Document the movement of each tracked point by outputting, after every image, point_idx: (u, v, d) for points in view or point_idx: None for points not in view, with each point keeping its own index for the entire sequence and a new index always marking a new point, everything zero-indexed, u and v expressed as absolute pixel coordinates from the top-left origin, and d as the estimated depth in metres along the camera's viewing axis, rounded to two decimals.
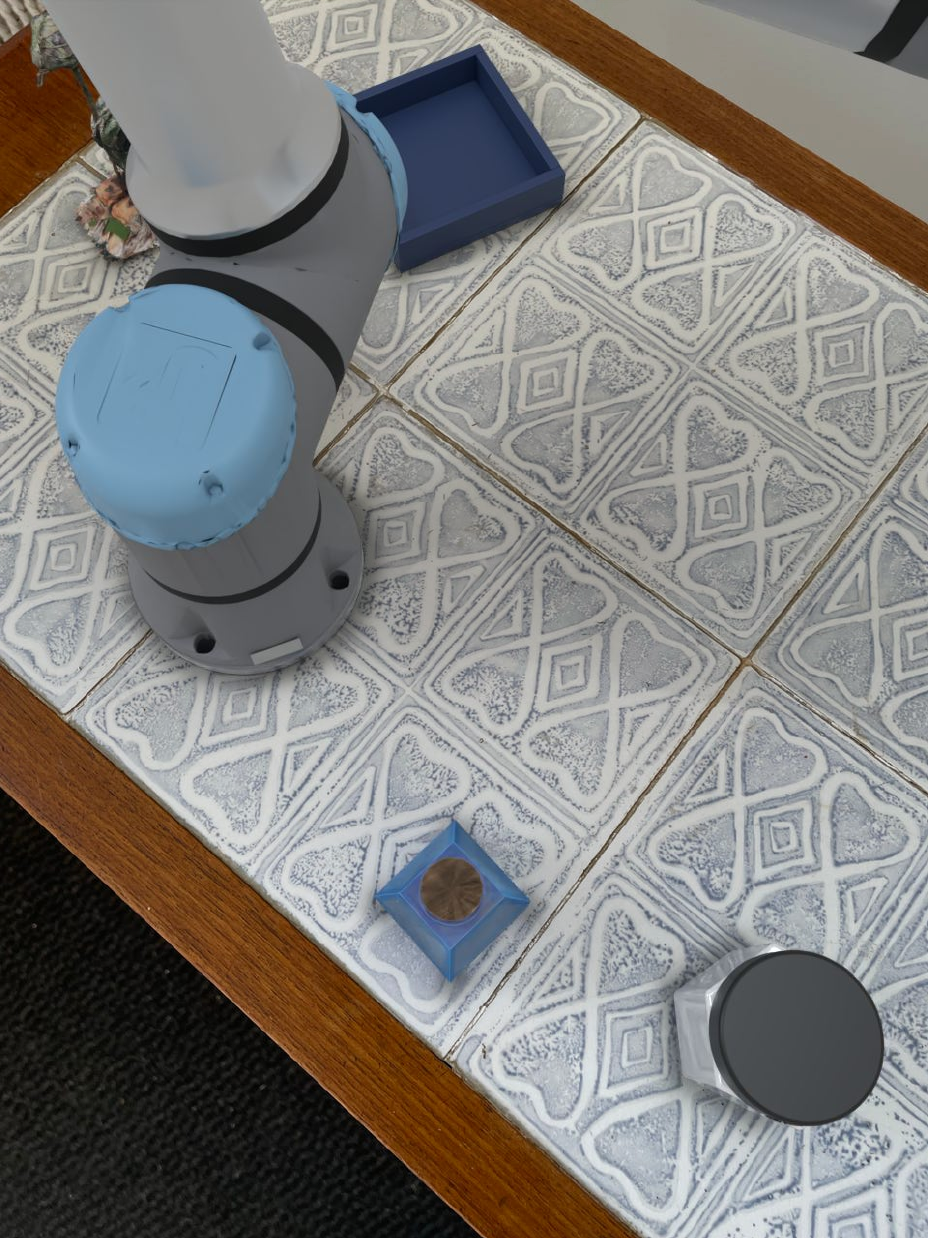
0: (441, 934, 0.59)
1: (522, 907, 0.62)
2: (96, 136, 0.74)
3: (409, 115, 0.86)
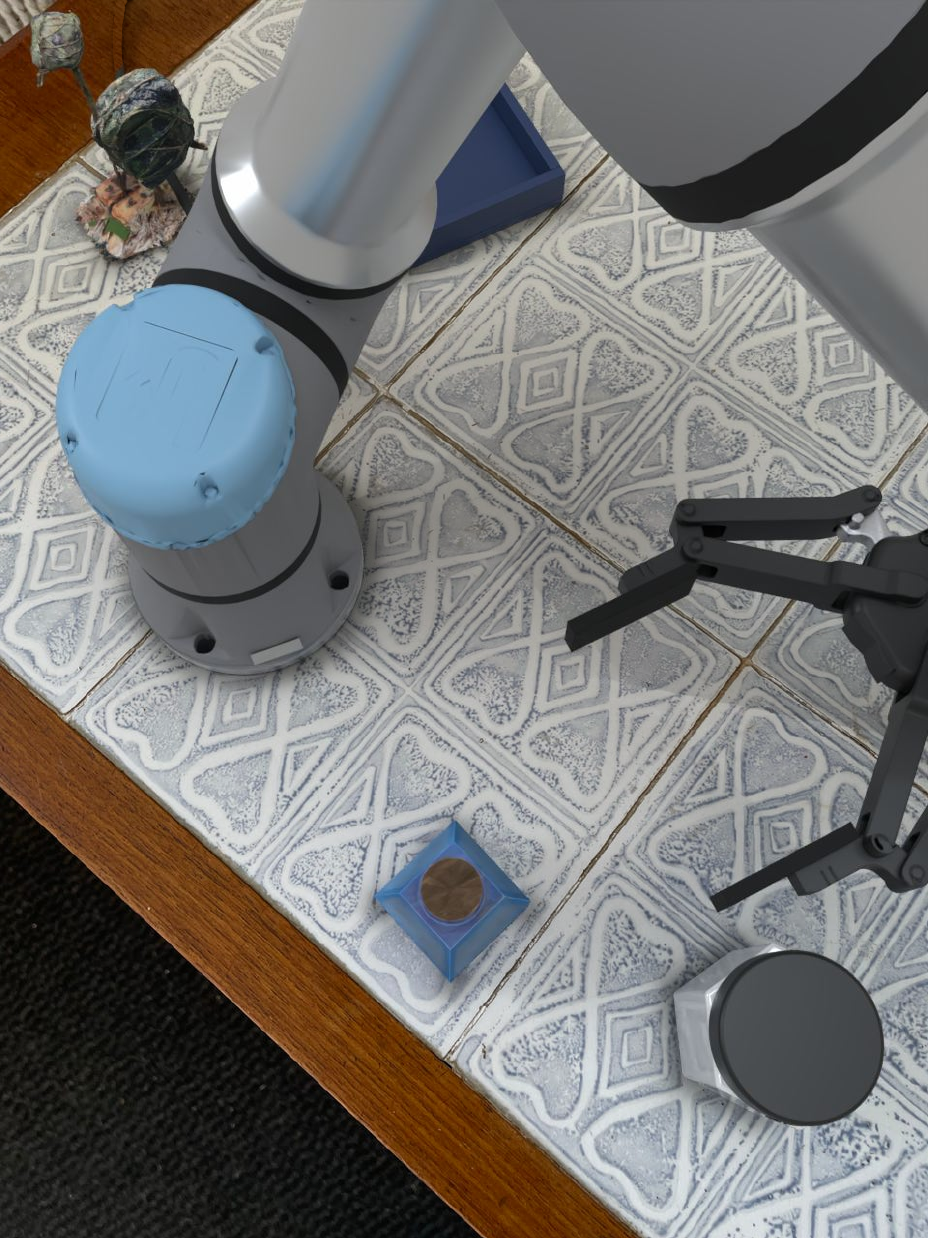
0: (441, 934, 0.59)
1: (522, 907, 0.62)
2: (96, 136, 0.74)
3: None
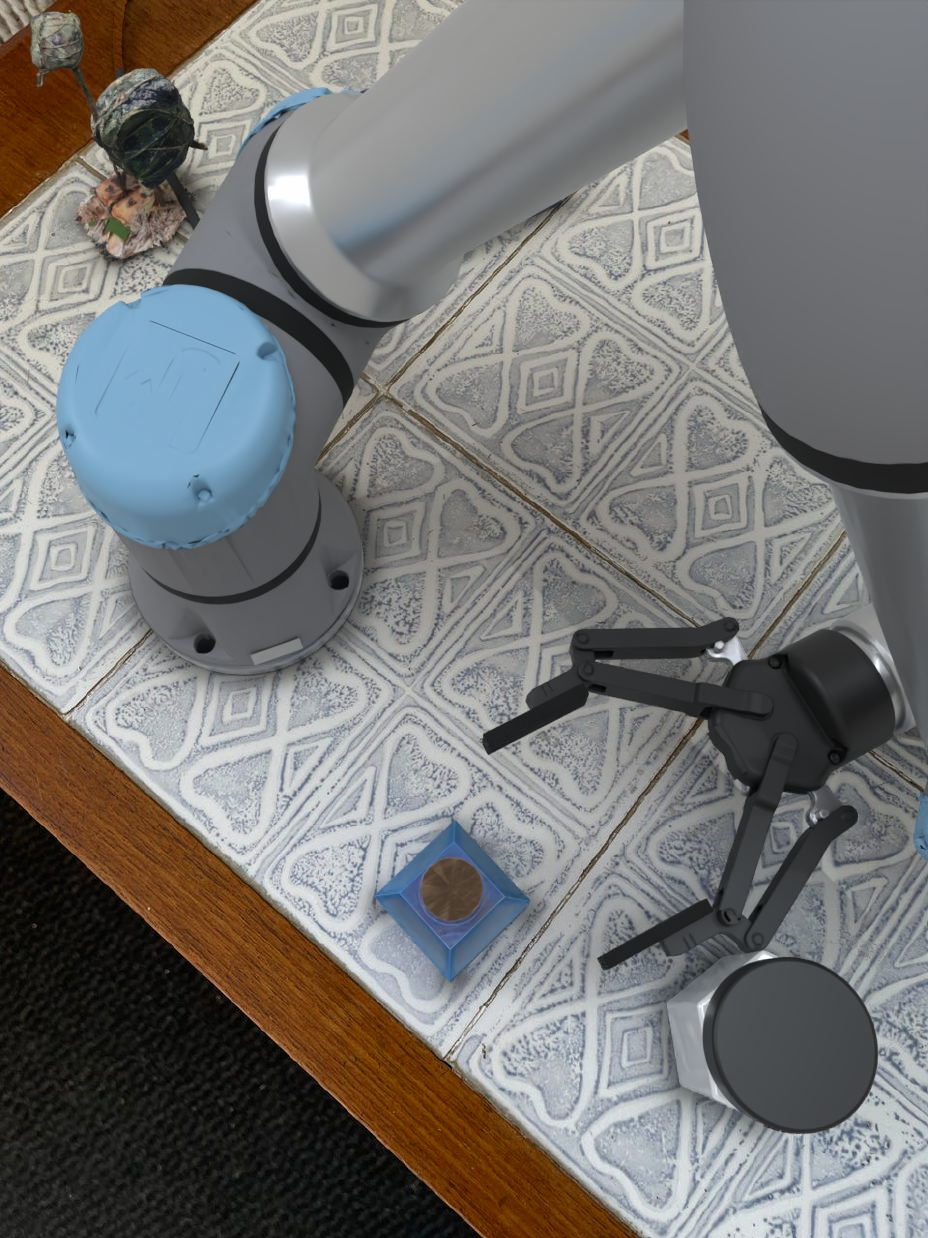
0: (441, 934, 0.59)
1: (522, 907, 0.62)
2: (96, 136, 0.74)
3: None
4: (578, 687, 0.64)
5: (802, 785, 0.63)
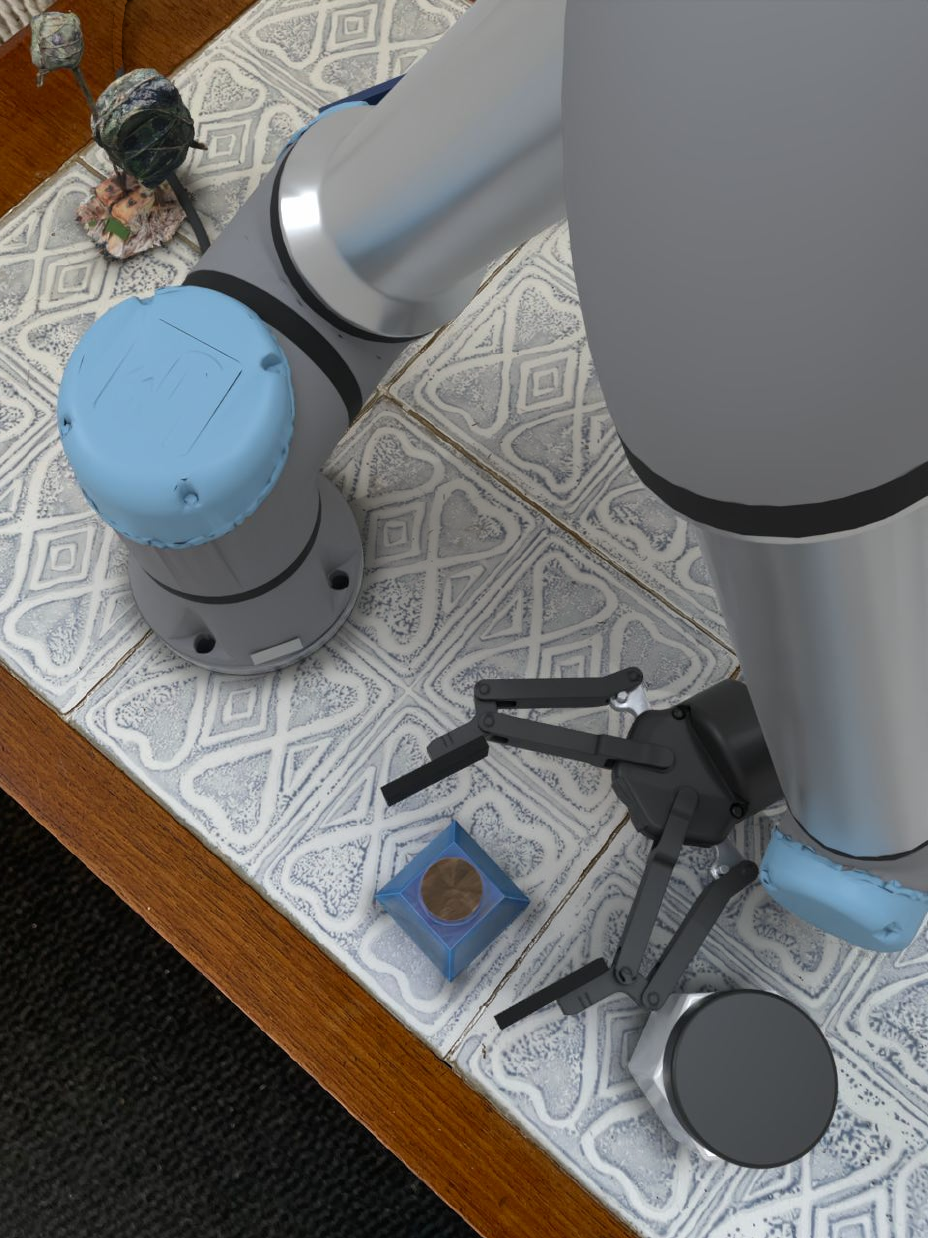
0: (441, 934, 0.59)
1: (522, 907, 0.62)
2: (96, 136, 0.74)
3: None
4: (478, 739, 0.63)
5: (703, 839, 0.62)
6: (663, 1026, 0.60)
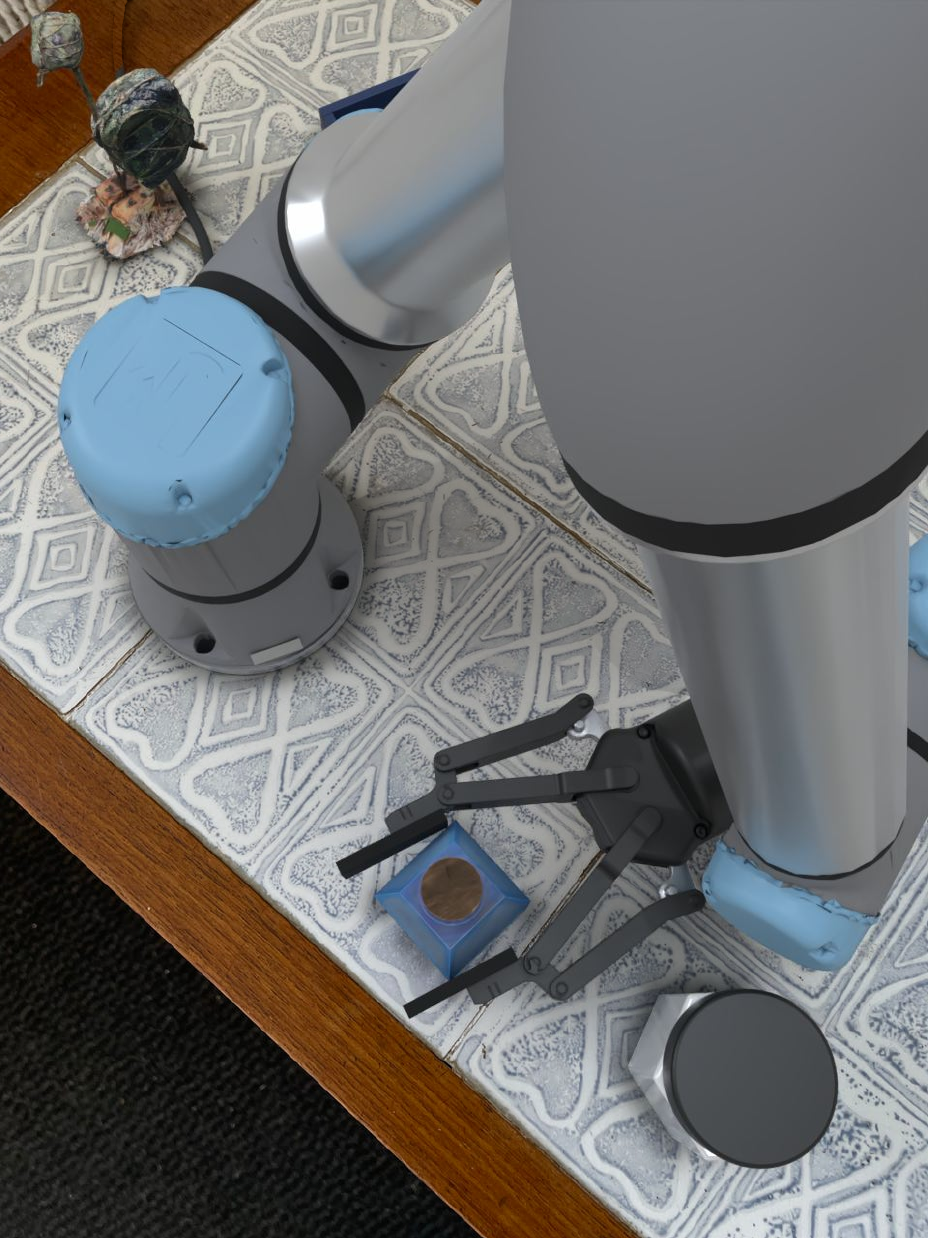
0: (441, 934, 0.59)
1: (522, 907, 0.62)
2: (96, 136, 0.74)
3: None
4: (436, 813, 0.62)
5: (661, 856, 0.62)
6: (663, 1026, 0.60)
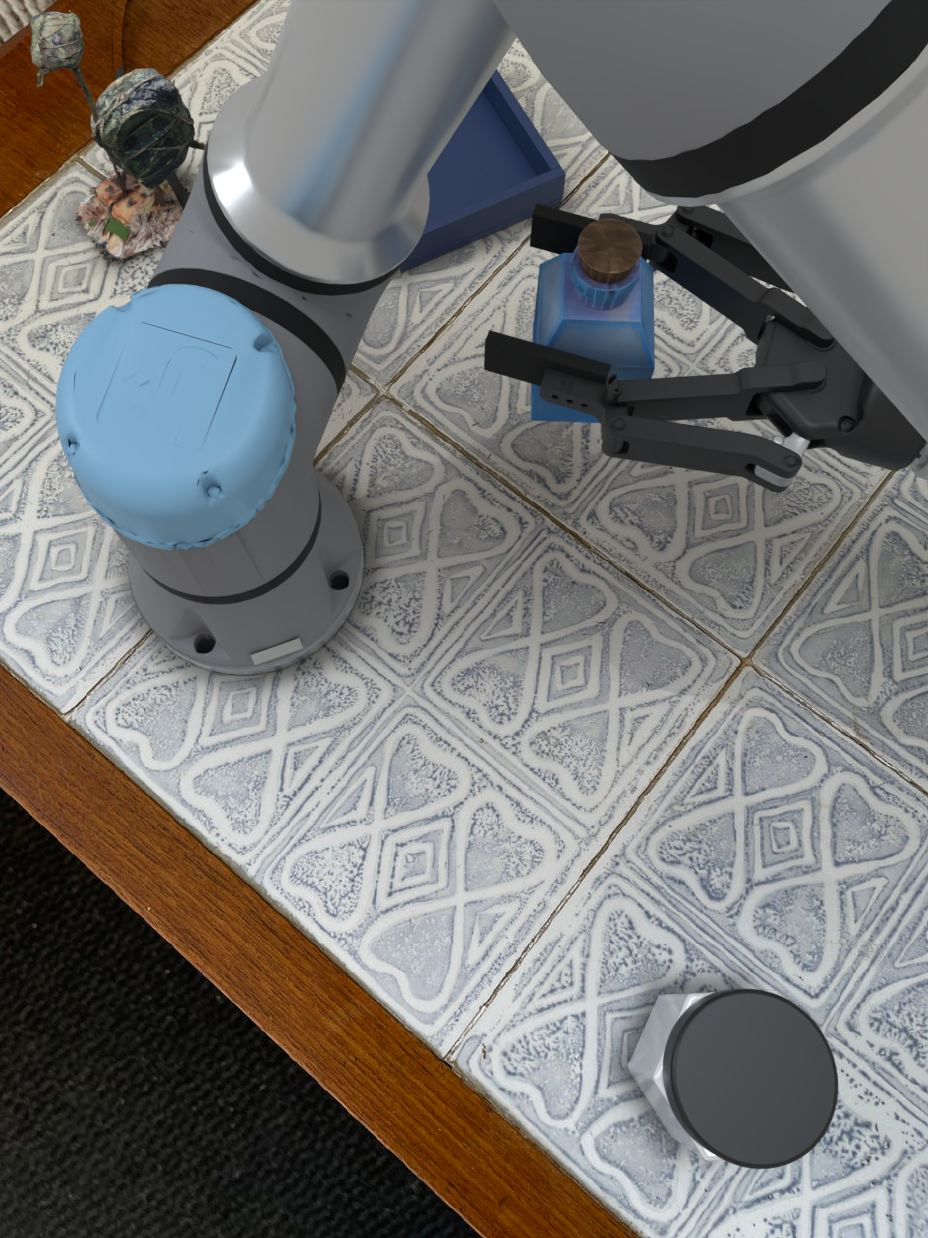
0: (566, 304, 0.57)
1: (644, 363, 0.59)
2: (96, 136, 0.74)
3: None
4: (646, 235, 0.60)
5: (794, 413, 0.57)
6: (663, 1026, 0.60)
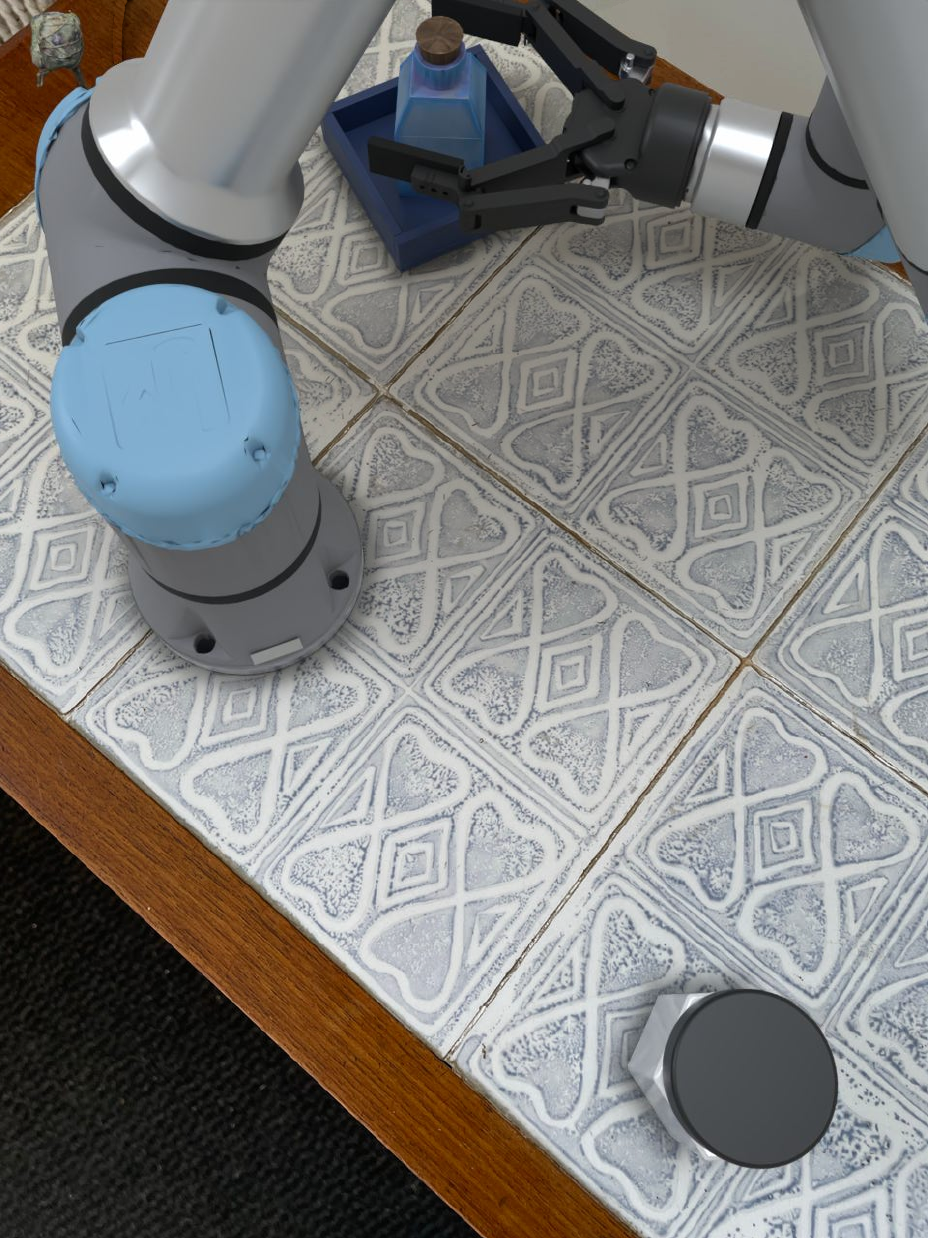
0: (413, 86, 0.76)
1: (474, 135, 0.78)
2: None
3: None
4: (517, 8, 0.78)
5: (592, 161, 0.74)
6: (663, 1026, 0.60)
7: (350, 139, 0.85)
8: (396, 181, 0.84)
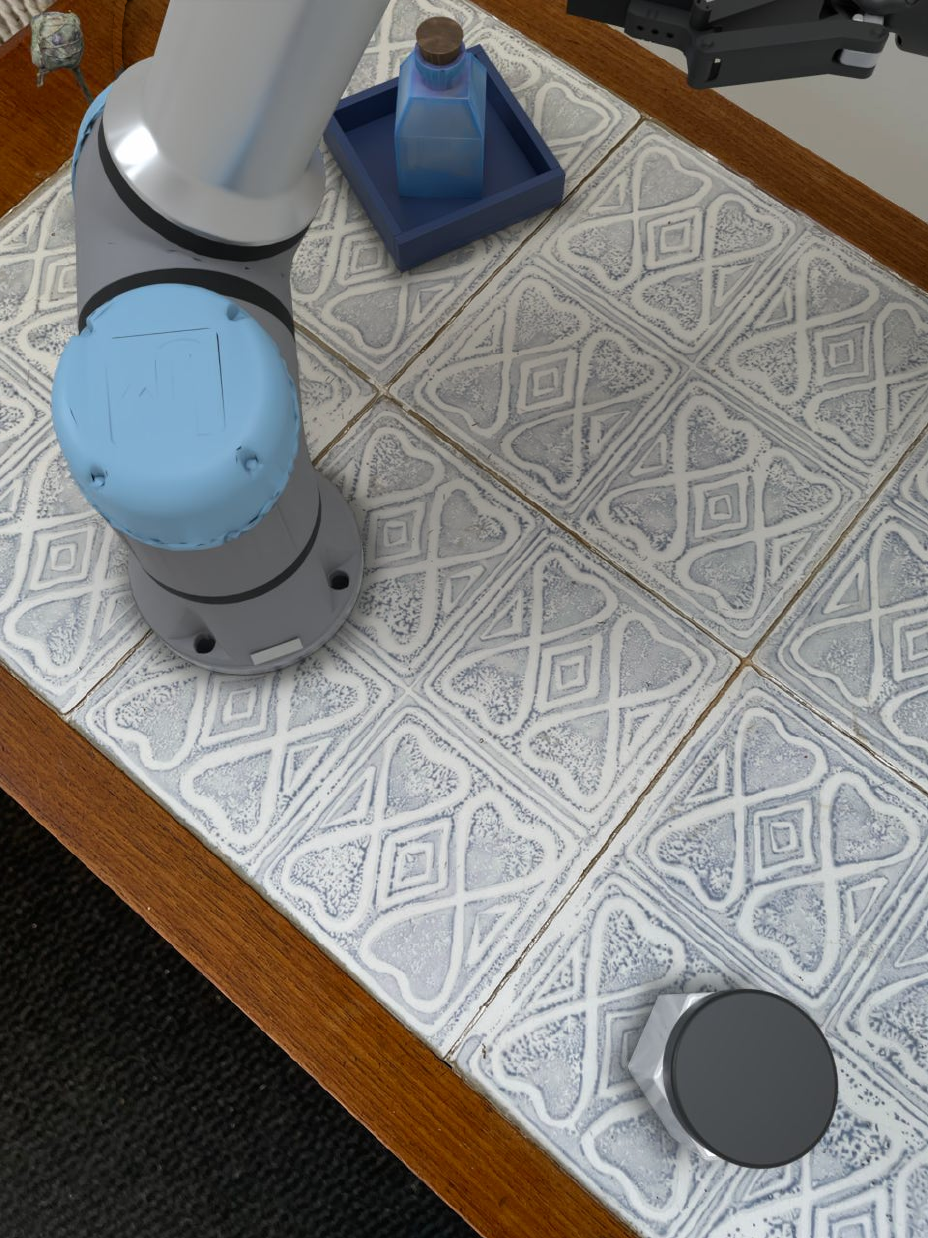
0: (413, 86, 0.76)
1: (474, 135, 0.78)
2: None
3: None
4: None
5: None
6: (663, 1026, 0.60)
7: (350, 139, 0.85)
8: (396, 181, 0.84)
